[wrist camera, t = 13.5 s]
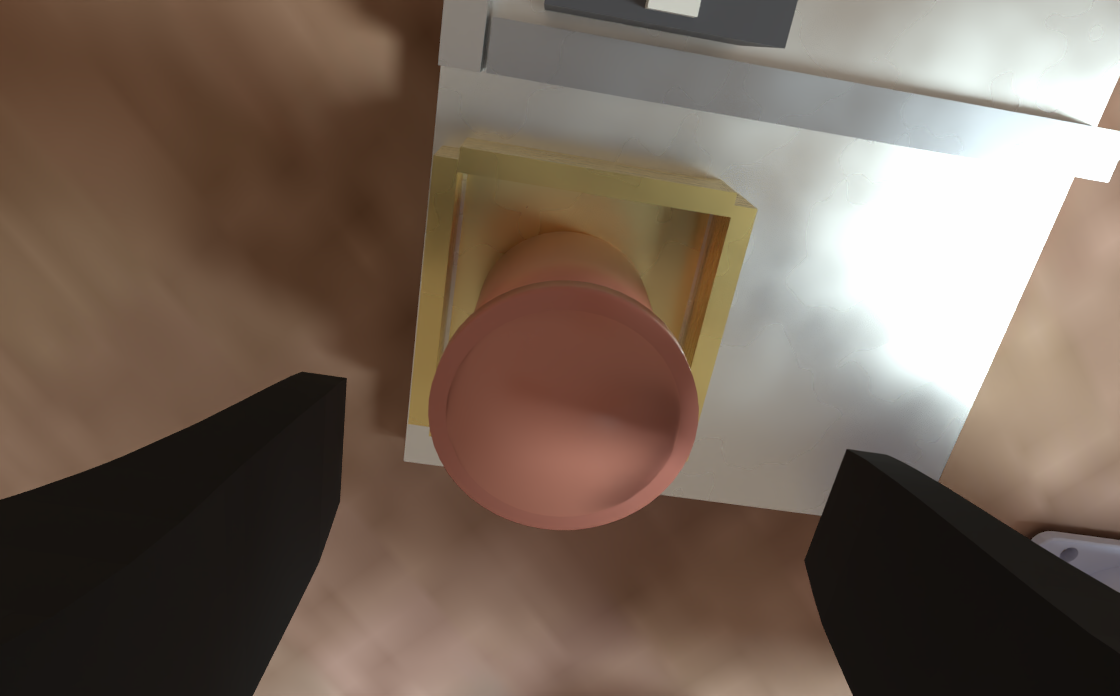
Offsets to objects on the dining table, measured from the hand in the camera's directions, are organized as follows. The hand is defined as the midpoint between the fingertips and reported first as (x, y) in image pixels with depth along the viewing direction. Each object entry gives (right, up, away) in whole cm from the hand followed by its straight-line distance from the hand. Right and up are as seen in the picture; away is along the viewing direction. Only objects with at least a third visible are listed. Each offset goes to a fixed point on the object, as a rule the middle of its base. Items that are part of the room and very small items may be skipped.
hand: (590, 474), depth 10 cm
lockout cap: (0, +3, +7) cm, 7 cm away
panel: (+4, +6, +6) cm, 10 cm away
